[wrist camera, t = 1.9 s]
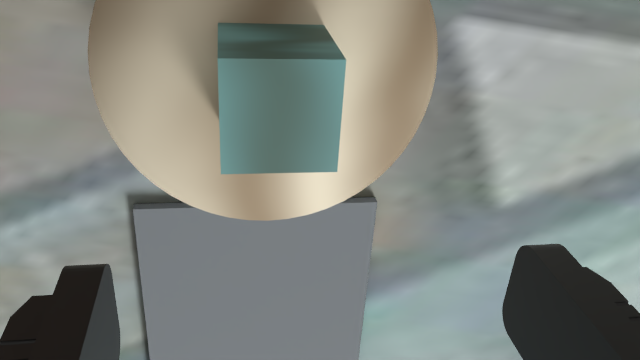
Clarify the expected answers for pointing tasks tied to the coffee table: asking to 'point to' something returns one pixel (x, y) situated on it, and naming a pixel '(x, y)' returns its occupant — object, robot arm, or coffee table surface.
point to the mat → (254, 282)
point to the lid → (262, 96)
